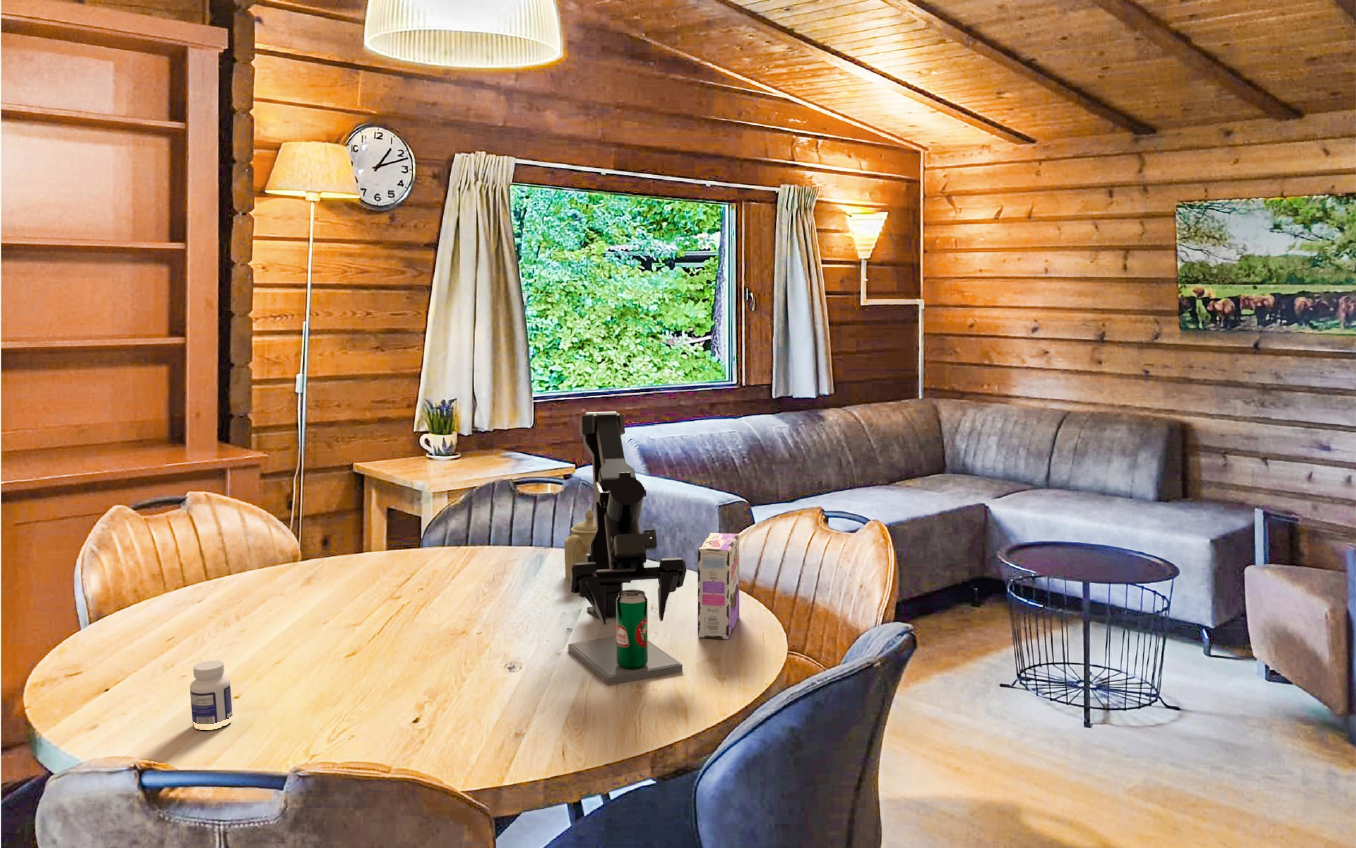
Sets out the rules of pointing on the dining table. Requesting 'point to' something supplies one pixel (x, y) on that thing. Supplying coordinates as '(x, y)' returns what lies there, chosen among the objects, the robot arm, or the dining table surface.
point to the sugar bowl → (579, 542)
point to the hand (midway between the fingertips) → (633, 621)
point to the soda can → (632, 629)
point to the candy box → (718, 585)
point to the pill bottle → (210, 693)
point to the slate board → (604, 663)
